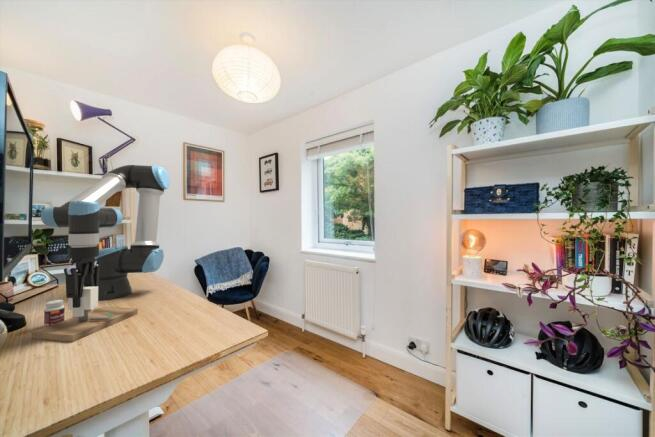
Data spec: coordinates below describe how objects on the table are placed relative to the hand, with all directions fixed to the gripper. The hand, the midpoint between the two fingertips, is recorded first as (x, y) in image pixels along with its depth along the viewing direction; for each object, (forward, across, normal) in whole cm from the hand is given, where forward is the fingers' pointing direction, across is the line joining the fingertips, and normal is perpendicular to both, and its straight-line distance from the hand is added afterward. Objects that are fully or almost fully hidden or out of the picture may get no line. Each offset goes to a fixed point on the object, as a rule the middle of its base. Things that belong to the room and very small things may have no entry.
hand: (83, 313), depth 84 cm
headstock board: (+5, -2, +1) cm, 5 cm away
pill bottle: (+5, -3, -10) cm, 12 cm away
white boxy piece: (+2, 0, +3) cm, 3 cm away
